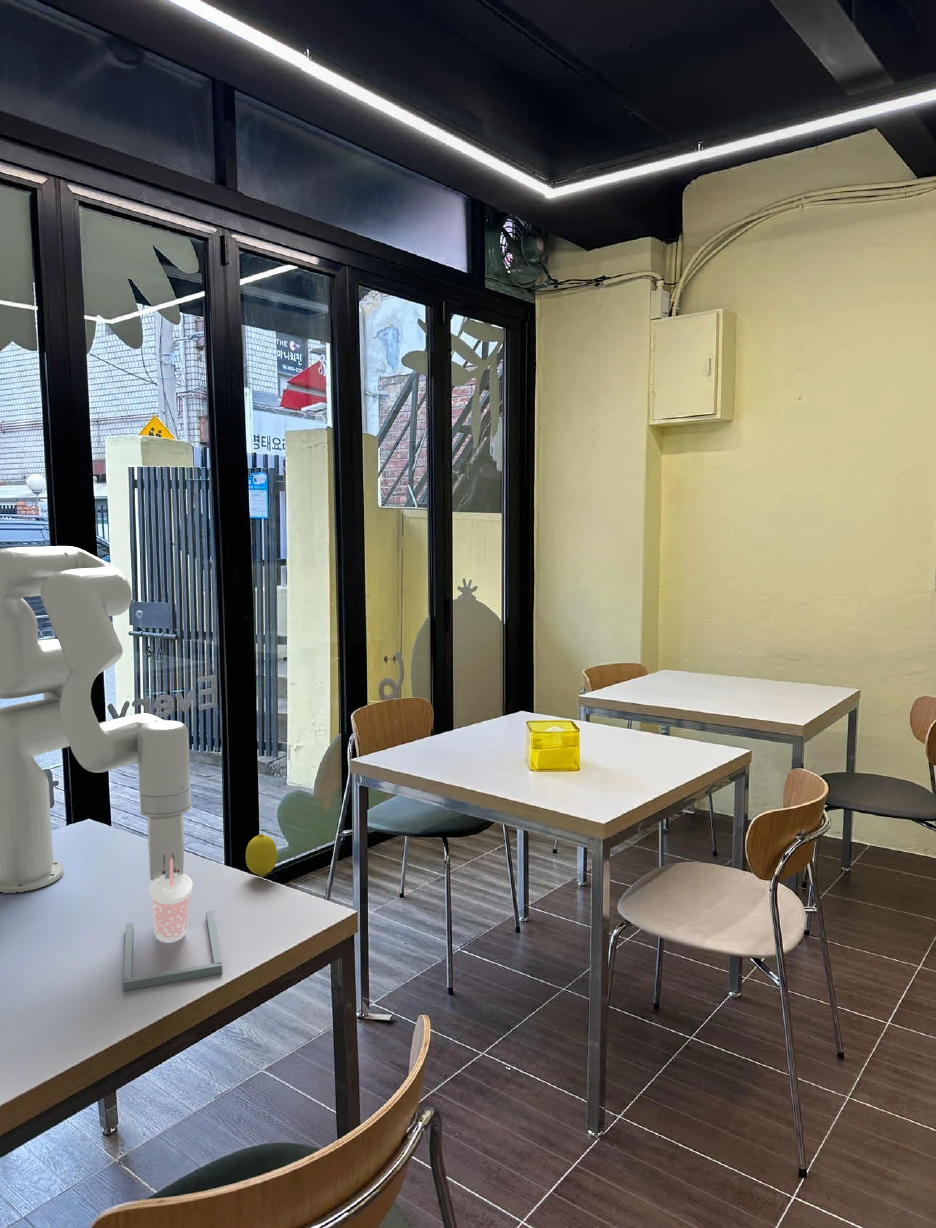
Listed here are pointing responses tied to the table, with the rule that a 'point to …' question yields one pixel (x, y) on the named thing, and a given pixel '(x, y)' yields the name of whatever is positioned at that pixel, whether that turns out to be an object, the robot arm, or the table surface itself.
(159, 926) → the beverage cup
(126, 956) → the slate channel
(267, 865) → the lemon
